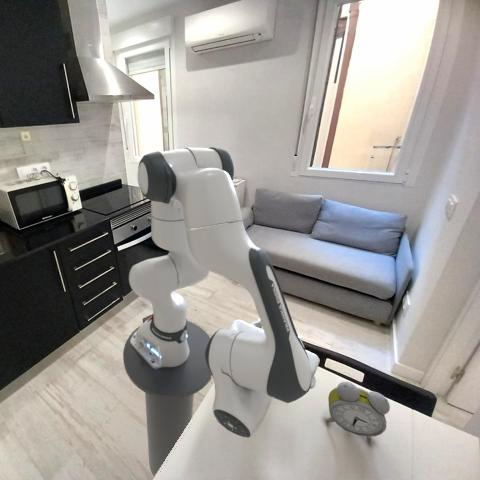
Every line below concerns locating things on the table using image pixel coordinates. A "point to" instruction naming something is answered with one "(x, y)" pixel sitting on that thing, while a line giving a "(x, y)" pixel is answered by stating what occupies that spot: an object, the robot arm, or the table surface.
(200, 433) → the table surface
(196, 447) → the table surface
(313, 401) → the table surface
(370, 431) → the alarm clock
